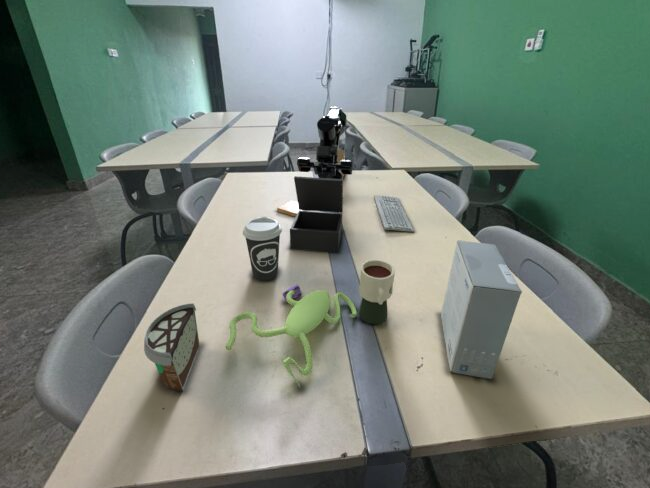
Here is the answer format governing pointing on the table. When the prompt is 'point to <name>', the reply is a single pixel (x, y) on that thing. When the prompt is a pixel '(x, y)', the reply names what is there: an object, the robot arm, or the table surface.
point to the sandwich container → (340, 158)
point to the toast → (289, 208)
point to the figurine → (298, 320)
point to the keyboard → (392, 214)
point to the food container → (173, 345)
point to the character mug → (375, 290)
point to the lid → (319, 194)
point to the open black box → (316, 231)
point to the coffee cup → (263, 246)
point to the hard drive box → (477, 308)
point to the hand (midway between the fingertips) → (322, 188)
